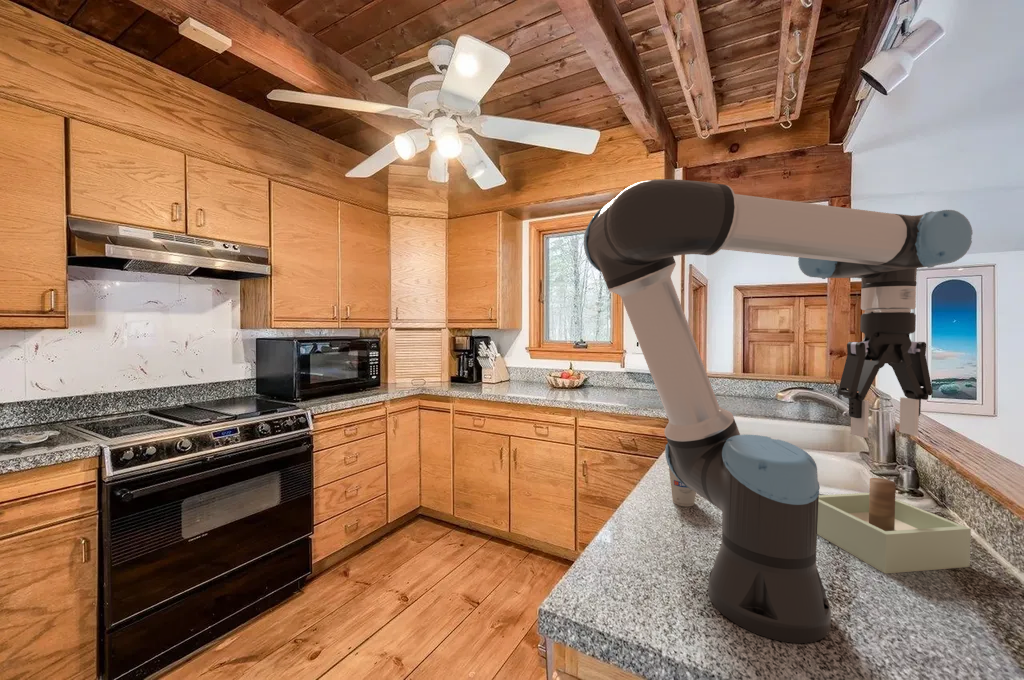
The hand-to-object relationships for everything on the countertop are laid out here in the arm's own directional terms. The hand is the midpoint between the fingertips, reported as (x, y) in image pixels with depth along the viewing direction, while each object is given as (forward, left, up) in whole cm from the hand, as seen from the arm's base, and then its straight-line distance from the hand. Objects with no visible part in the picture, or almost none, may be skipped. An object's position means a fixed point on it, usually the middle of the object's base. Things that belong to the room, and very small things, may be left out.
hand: (884, 434), depth 79 cm
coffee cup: (-26, +23, -21) cm, 40 cm away
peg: (0, 0, -21) cm, 21 cm away
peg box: (0, 0, -21) cm, 21 cm away
